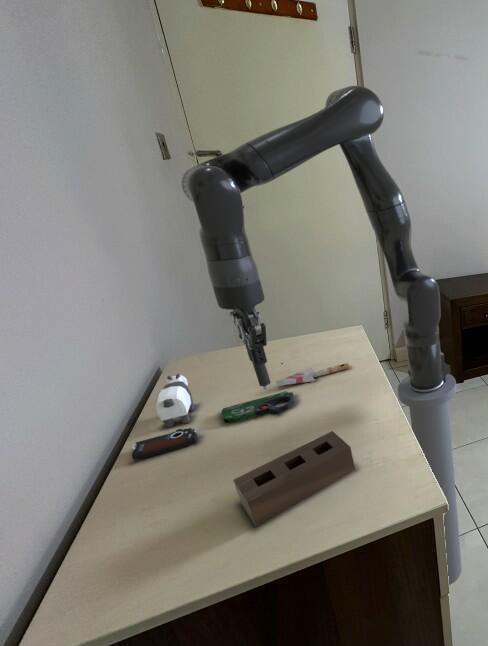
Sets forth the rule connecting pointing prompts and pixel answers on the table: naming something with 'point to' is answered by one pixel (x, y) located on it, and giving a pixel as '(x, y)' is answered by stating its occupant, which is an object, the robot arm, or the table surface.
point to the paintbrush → (310, 375)
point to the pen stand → (293, 477)
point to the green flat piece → (257, 407)
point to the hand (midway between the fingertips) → (258, 361)
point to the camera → (164, 443)
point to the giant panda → (175, 401)
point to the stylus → (260, 372)
